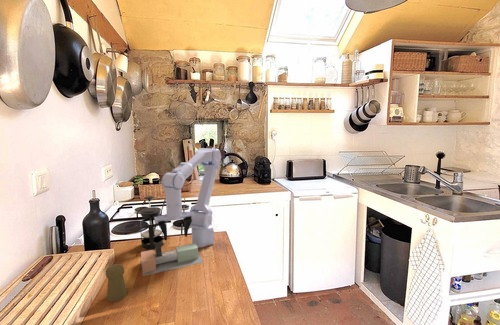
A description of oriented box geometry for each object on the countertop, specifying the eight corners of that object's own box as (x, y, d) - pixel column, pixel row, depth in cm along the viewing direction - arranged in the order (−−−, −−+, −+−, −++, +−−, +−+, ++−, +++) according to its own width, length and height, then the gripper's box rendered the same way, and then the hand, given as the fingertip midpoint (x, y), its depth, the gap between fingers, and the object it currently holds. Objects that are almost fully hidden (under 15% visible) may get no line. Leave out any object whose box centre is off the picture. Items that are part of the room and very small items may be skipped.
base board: (196, 250, 116) (195, 248, 116) (203, 264, 105) (203, 261, 105) (140, 262, 107) (140, 260, 106) (142, 278, 96) (142, 276, 96)
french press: (138, 253, 114) (134, 201, 110) (140, 243, 123) (136, 195, 119) (167, 249, 117) (164, 198, 114) (167, 240, 126) (164, 192, 122)
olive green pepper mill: (122, 289, 90) (119, 259, 88) (131, 297, 86) (128, 265, 84) (103, 299, 85) (100, 267, 83) (112, 307, 81) (108, 274, 79)
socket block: (153, 259, 107) (153, 249, 106) (156, 269, 100) (155, 259, 99) (141, 262, 105) (140, 252, 104) (143, 272, 98) (142, 261, 97)
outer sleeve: (195, 253, 112) (195, 243, 111) (198, 258, 108) (198, 247, 107) (176, 257, 108) (175, 247, 108) (178, 262, 105) (177, 252, 104)
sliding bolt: (182, 255, 109) (182, 238, 108) (184, 258, 106) (183, 241, 105) (147, 262, 103) (145, 244, 102) (147, 266, 101) (146, 248, 99)
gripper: (155, 209, 96) (157, 245, 98) (195, 204, 102) (196, 237, 104) (153, 204, 103) (155, 237, 105) (191, 199, 109) (192, 231, 111)
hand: (175, 237), depth 105 cm, fingers open, 7 cm apart
